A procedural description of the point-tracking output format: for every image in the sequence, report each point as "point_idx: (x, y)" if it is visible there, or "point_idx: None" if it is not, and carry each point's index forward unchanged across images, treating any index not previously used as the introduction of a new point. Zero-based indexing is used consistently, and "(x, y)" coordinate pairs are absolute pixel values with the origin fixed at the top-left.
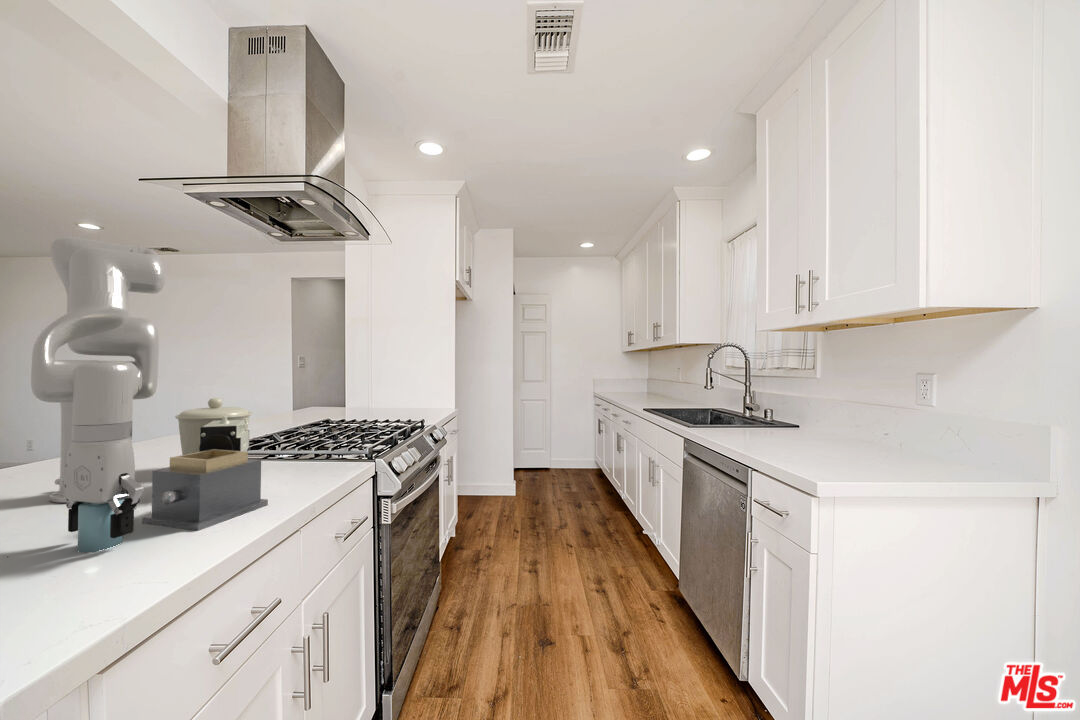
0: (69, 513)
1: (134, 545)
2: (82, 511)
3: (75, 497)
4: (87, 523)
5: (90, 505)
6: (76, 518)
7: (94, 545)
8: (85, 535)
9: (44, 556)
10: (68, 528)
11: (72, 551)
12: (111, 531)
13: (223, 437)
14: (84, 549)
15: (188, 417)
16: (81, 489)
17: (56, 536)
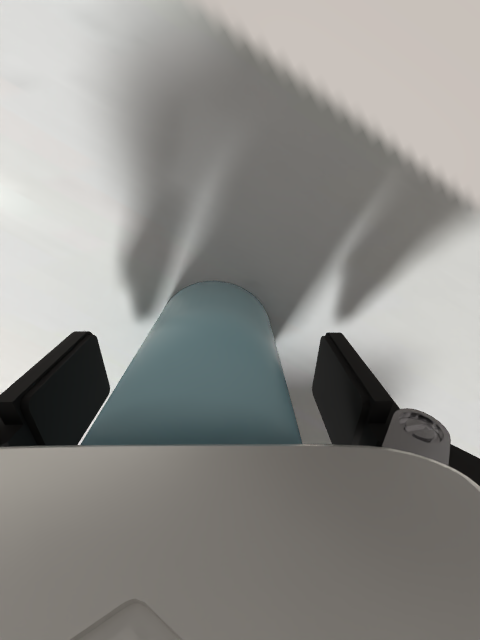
0: (371, 383)
1: (119, 362)
2: (180, 376)
3: (267, 473)
4: (164, 338)
5: (187, 438)
6: (338, 379)
7: (168, 304)
8: (186, 309)
9: (302, 221)
10: (342, 337)
11: (254, 280)
12: (64, 344)
13: None
14: (198, 287)
15: None
16: (157, 625)
17: (448, 349)
